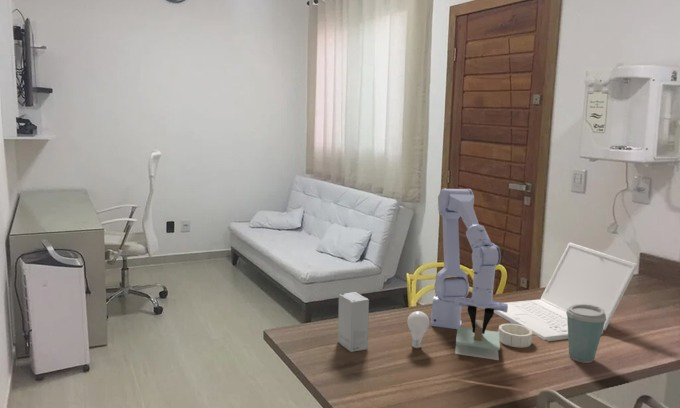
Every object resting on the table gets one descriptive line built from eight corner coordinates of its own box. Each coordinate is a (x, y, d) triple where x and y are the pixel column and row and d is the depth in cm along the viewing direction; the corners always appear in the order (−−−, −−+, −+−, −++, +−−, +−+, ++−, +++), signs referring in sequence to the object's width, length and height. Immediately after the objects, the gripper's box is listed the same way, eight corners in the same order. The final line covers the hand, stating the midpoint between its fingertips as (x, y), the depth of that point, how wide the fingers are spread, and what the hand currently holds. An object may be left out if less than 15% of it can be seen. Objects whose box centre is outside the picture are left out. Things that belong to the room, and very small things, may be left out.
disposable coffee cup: (580, 368, 156) (587, 316, 154) (552, 352, 166) (558, 303, 163) (608, 363, 160) (616, 313, 158) (579, 348, 170) (585, 300, 168)
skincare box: (368, 349, 161) (371, 299, 159) (349, 353, 158) (352, 302, 156) (353, 338, 168) (356, 290, 166) (335, 341, 165) (338, 292, 163)
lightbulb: (429, 345, 166) (432, 310, 164) (425, 354, 160) (428, 317, 158) (407, 341, 168) (410, 306, 166) (403, 350, 162) (405, 313, 160)
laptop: (485, 309, 201) (492, 245, 197) (562, 301, 214) (570, 241, 210) (544, 342, 174) (553, 270, 170) (629, 331, 187) (639, 264, 183)
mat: (454, 355, 161) (454, 353, 160) (456, 339, 172) (456, 337, 172) (498, 361, 158) (498, 360, 158) (497, 344, 169) (497, 343, 169)
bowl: (498, 346, 169) (499, 333, 168) (497, 333, 178) (498, 321, 177) (532, 350, 166) (533, 337, 166) (529, 338, 176) (530, 326, 175)
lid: (455, 343, 160) (457, 328, 159) (457, 328, 172) (458, 313, 171) (499, 350, 157) (501, 334, 157) (498, 333, 169) (500, 319, 168)
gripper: (456, 287, 160) (452, 333, 162) (510, 294, 156) (504, 341, 159) (457, 280, 166) (453, 324, 169) (508, 286, 163) (503, 331, 165)
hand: (478, 331), depth 164 cm, fingers closed on lid
